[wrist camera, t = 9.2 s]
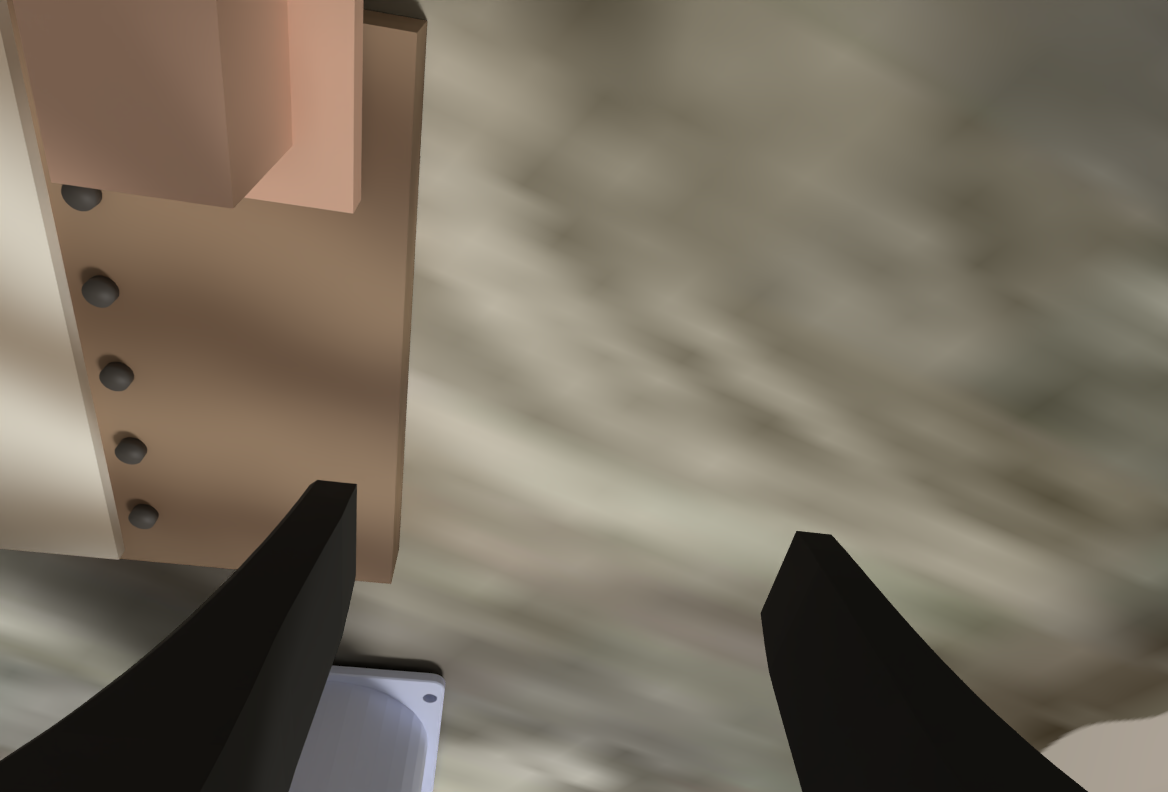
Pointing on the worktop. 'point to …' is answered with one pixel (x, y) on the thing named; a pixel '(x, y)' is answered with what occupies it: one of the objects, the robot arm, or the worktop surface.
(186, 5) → the peach plate with block
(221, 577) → the worktop surface
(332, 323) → the board
